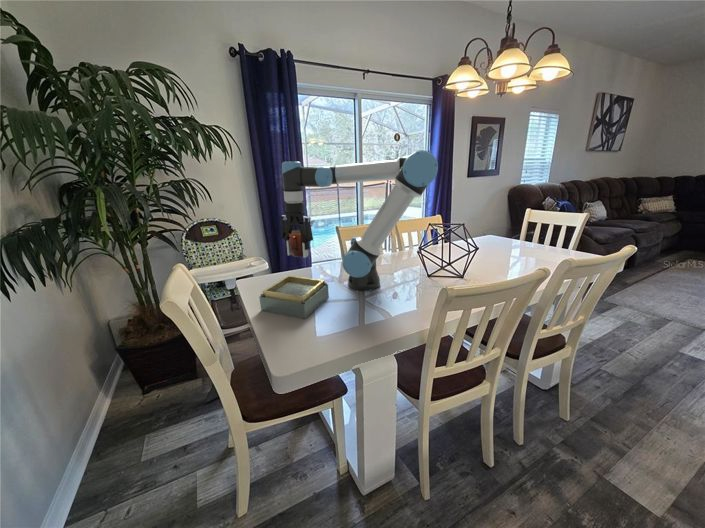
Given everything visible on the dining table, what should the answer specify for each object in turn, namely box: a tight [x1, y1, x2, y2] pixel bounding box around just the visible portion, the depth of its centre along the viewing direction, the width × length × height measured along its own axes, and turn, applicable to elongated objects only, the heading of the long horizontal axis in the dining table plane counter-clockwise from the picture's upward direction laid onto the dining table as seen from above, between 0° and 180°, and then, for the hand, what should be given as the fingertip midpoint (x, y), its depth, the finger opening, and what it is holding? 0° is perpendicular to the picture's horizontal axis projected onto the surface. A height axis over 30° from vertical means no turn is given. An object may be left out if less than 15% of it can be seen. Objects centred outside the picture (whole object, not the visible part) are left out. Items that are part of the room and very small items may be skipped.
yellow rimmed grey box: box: [258, 275, 329, 320], centre depth 118 cm, size 23×20×9 cm
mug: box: [288, 229, 310, 258], centre depth 122 cm, size 12×9×10 cm
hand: (297, 255), depth 124 cm, fingers closed on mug, 7 cm apart
